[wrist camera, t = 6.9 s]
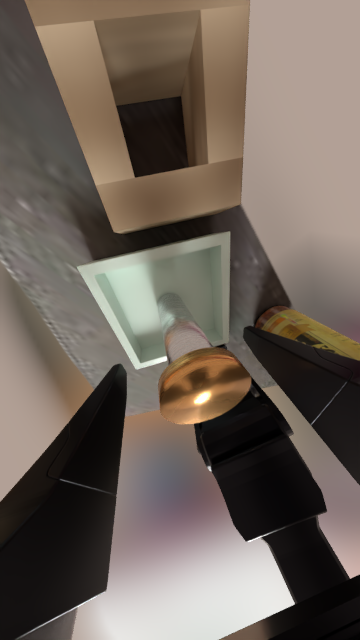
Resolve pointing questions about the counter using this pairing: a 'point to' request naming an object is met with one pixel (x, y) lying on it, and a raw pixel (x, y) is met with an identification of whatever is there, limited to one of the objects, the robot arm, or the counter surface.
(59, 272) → the counter surface
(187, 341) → the orange-capped jar
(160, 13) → the block
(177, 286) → the sage tray
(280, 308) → the sauce bottle
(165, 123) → the counter surface
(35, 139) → the counter surface
